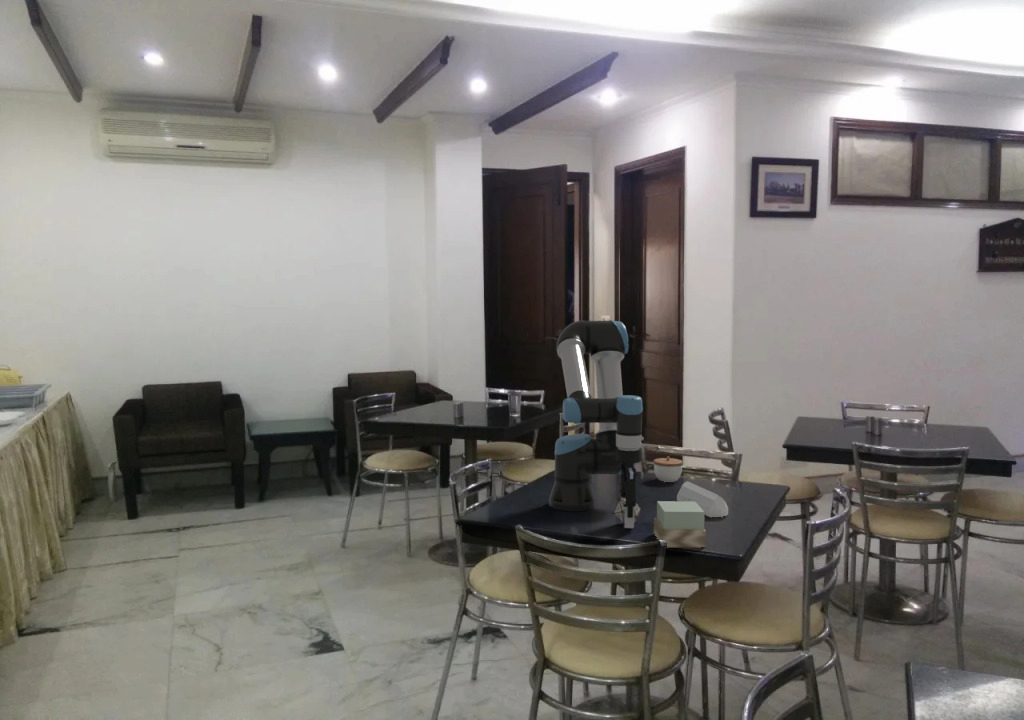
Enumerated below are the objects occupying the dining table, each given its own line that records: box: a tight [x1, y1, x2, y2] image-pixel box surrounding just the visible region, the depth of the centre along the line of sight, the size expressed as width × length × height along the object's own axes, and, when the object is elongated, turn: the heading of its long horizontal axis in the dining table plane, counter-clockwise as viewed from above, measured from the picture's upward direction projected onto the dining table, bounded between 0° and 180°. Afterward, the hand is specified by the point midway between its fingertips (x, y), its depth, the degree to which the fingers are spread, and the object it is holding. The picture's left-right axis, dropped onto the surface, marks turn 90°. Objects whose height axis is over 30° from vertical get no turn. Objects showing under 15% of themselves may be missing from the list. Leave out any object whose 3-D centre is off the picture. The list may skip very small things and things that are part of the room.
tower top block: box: [656, 500, 705, 530], centre depth 212 cm, size 11×11×5 cm
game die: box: [610, 497, 645, 527], centre depth 224 cm, size 9×8×10 cm
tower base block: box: [653, 517, 707, 548], centre depth 211 cm, size 12×12×5 cm
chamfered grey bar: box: [676, 480, 729, 518], centre depth 245 cm, size 7×7×24 cm
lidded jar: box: [653, 456, 683, 483], centre depth 284 cm, size 11×11×9 cm
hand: (627, 523), depth 224 cm, fingers closed on game die, 8 cm apart
